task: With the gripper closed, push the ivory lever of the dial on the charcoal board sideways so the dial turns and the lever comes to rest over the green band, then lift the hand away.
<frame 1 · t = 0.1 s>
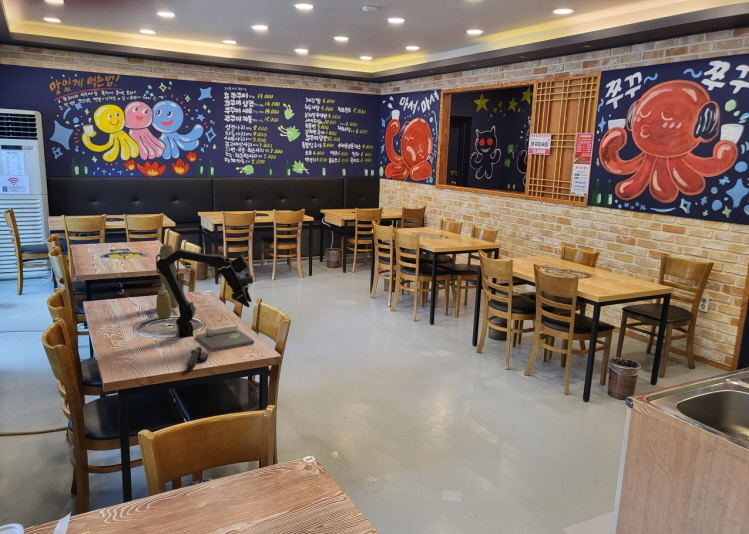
hand: (250, 304, 273), 15 cm above the table, tool tilted 35°, fingers open, 9 cm apart
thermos: (170, 307, 319), on the table
can opener: (195, 365, 236), on the table
squeeze bottle: (164, 317, 300), on the table
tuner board: (224, 340, 265), on the table
dial lever: (221, 329, 271), point 3 cm above the table, hinge at 0.0°
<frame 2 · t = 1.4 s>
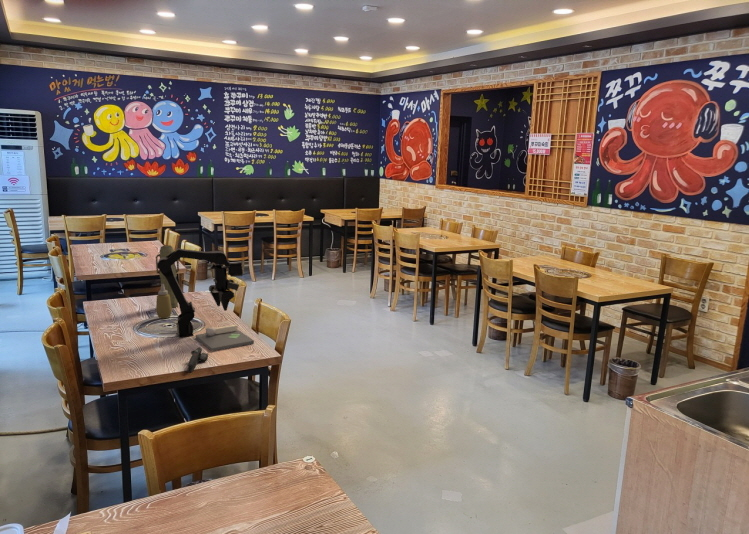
hand: (222, 308, 275), 12 cm above the table, tool pointing down, fingers open, 9 cm apart
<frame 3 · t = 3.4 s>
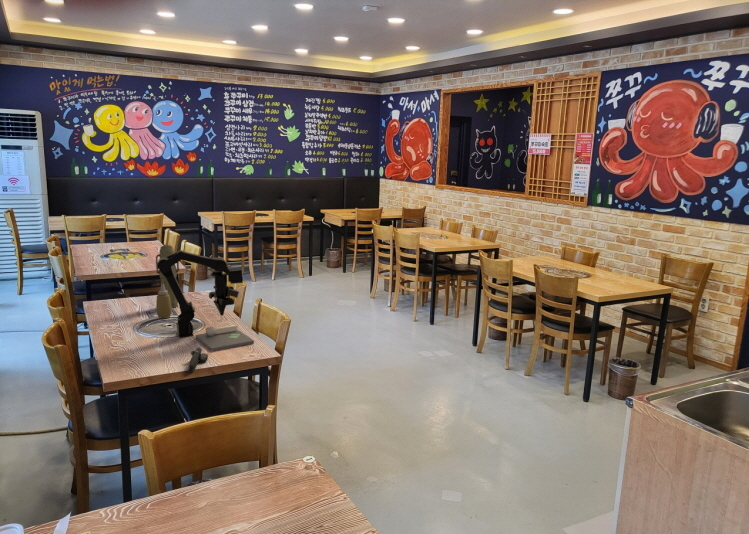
hand: (221, 315, 276), 9 cm above the table, tool pointing down, fingers closed
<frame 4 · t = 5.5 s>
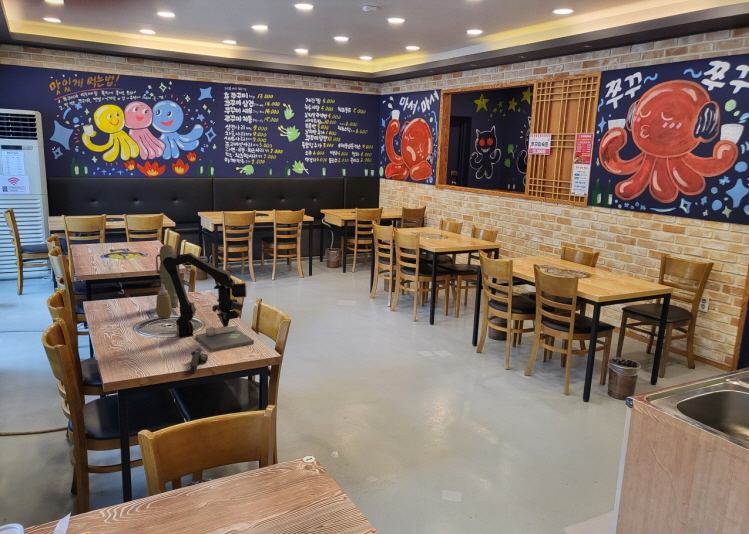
hand: (225, 328, 274), 3 cm above the table, tool pointing down, fingers closed
dial lever: (221, 329, 271), point 3 cm above the table, hinge at 0.0°, touching gripper
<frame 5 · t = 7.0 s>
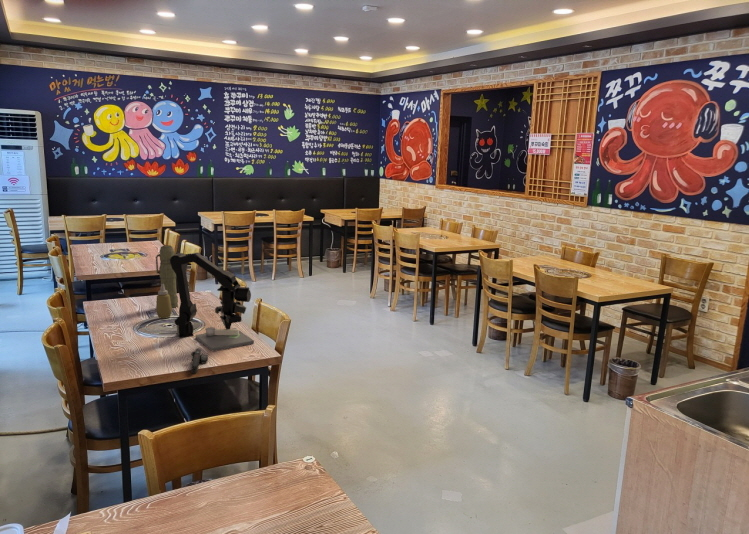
hand: (228, 331, 270), 3 cm above the table, tool pointing down, fingers closed
dial lever: (222, 331, 268), point 3 cm above the table, hinge at -34.7°, touching gripper
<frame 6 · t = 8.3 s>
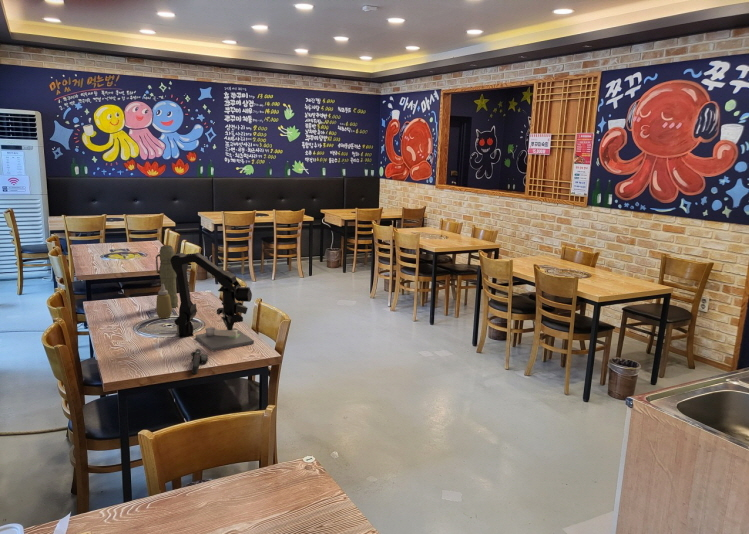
hand: (230, 332, 269), 3 cm above the table, tool pointing down, fingers closed
dial lever: (221, 332, 267), point 3 cm above the table, hinge at -44.5°
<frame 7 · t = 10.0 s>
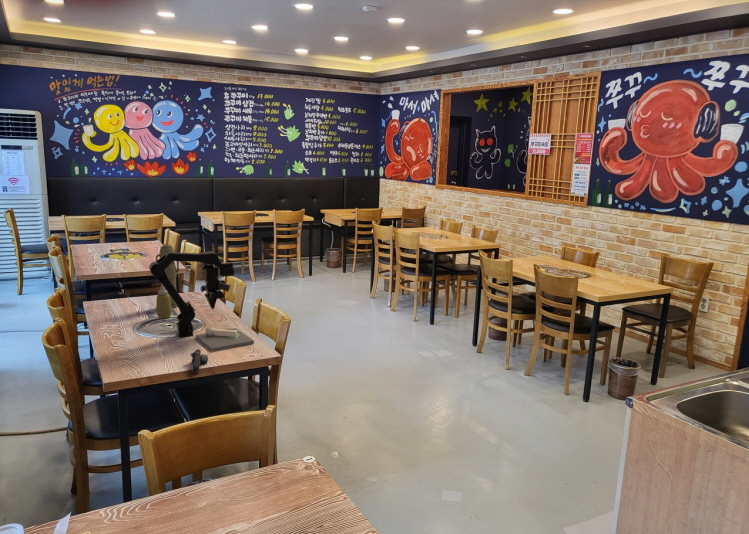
hand: (212, 308, 276), 12 cm above the table, tool pointing down, fingers closed
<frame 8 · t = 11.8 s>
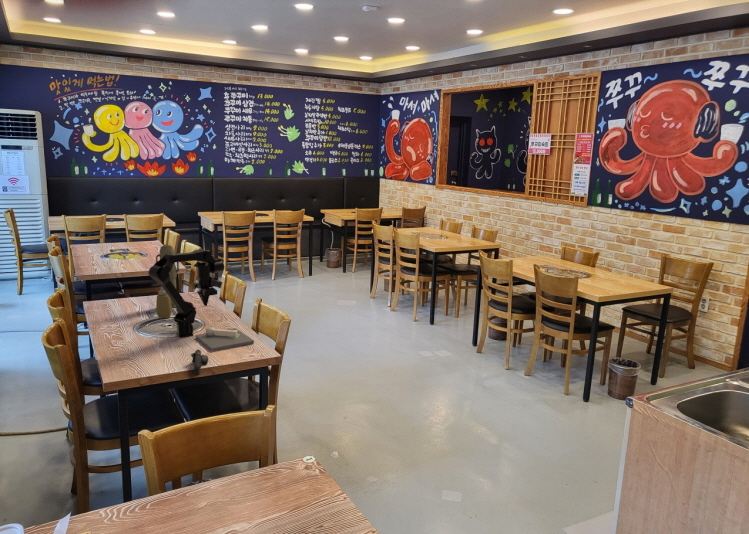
hand: (205, 305, 280), 12 cm above the table, tool pointing down, fingers closed
at the end: dial lever at -44° (first picture: +0°); squeeze bottle moved 0.2 cm from its start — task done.
